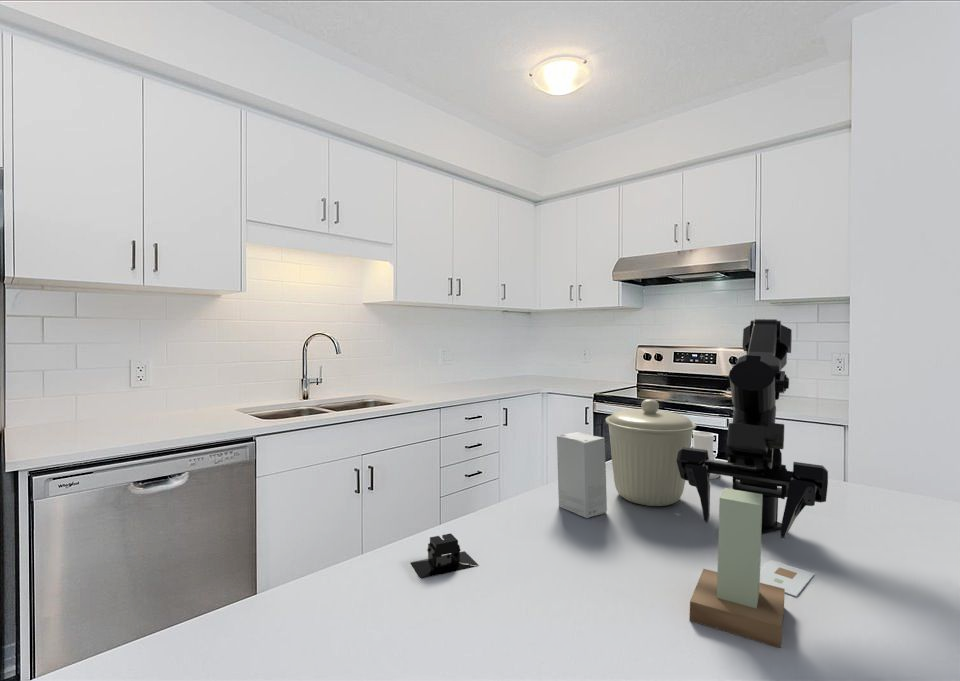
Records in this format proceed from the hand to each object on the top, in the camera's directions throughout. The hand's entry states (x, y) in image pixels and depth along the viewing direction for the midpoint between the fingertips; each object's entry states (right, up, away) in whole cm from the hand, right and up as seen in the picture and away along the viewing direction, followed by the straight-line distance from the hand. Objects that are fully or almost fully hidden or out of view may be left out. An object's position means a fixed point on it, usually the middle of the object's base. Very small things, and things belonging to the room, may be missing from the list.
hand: (742, 529), depth 69 cm
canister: (0, -8, +40) cm, 41 cm away
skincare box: (-15, -9, +33) cm, 38 cm away
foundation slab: (-2, -10, -2) cm, 11 cm away
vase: (+19, -8, +57) cm, 60 cm away
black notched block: (-41, -10, +11) cm, 43 cm away
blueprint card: (+9, -10, +7) cm, 15 cm away
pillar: (-2, -8, -2) cm, 8 cm away
